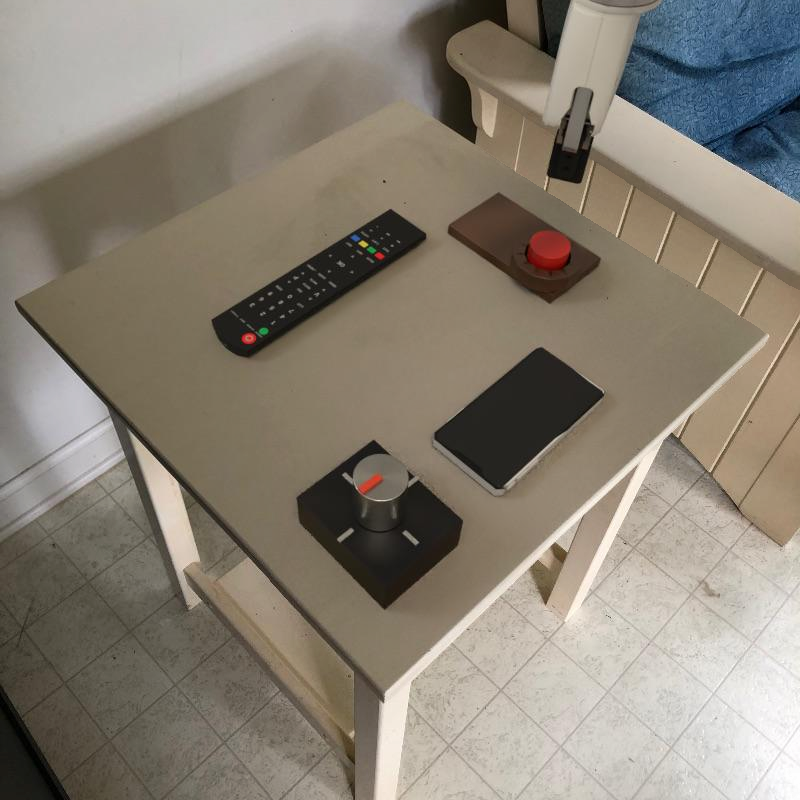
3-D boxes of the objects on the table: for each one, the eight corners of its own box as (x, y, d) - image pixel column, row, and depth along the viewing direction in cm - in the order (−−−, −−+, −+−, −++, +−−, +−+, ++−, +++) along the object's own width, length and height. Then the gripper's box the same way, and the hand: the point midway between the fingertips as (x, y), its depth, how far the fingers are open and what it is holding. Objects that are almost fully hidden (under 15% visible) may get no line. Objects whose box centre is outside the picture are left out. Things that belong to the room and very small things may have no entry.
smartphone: (609, 393, 74) (501, 493, 67) (605, 401, 75) (499, 501, 68) (538, 344, 77) (429, 434, 70) (536, 352, 78) (427, 442, 71)
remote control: (425, 243, 86) (426, 233, 85) (243, 364, 75) (242, 354, 74) (390, 218, 88) (390, 208, 87) (208, 332, 78) (206, 322, 77)
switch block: (602, 268, 85) (609, 246, 83) (547, 311, 81) (553, 289, 79) (497, 200, 91) (500, 178, 89) (441, 237, 87) (443, 215, 85)
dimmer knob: (381, 476, 64) (382, 441, 60) (416, 510, 62) (420, 476, 59) (342, 506, 62) (341, 472, 58) (377, 542, 61) (379, 509, 57)
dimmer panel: (459, 544, 65) (464, 518, 62) (383, 611, 62) (384, 587, 58) (373, 465, 69) (374, 437, 66) (298, 523, 66) (294, 496, 63)
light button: (575, 258, 82) (579, 245, 81) (550, 277, 80) (553, 264, 79) (544, 238, 84) (547, 224, 82) (518, 256, 82) (521, 243, 81)
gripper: (583, -84, 65) (540, 120, 79) (546, 8, 56) (505, 217, 71) (679, -66, 63) (618, 137, 78) (656, 30, 55) (592, 238, 69)
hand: (565, 175), depth 74 cm, fingers closed
